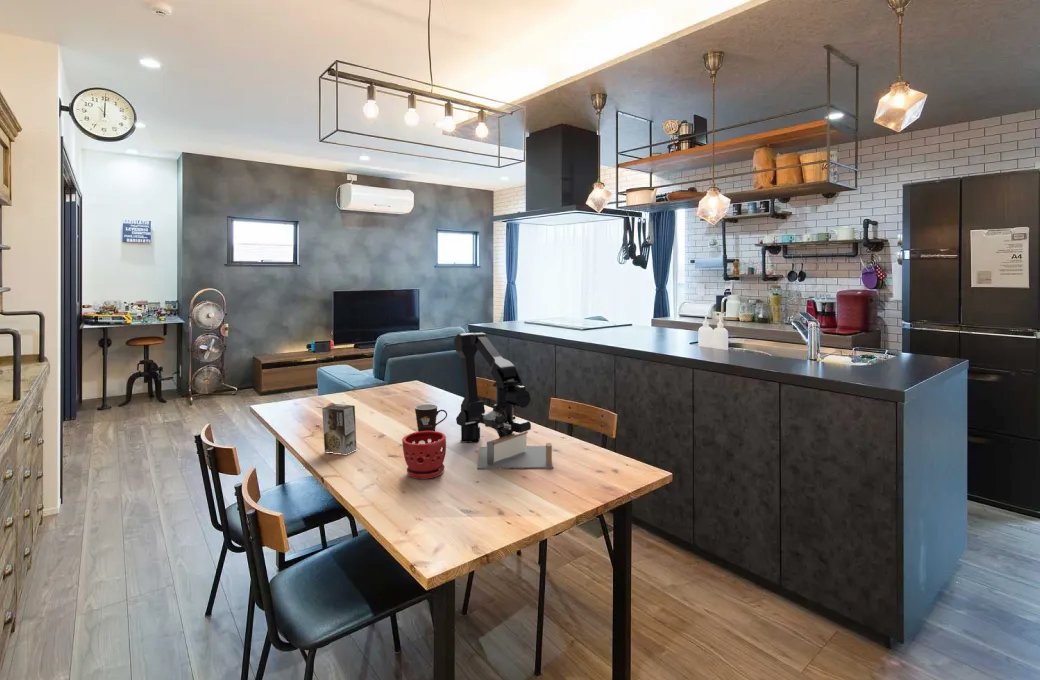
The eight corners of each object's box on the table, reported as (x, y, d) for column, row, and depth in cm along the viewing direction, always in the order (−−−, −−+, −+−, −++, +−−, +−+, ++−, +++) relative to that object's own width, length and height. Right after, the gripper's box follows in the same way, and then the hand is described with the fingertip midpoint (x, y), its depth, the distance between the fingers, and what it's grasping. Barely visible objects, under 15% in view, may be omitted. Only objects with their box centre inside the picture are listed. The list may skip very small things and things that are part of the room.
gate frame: (477, 469, 175) (477, 447, 174) (479, 448, 196) (479, 428, 195) (553, 468, 176) (553, 446, 175) (547, 447, 197) (547, 428, 196)
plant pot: (408, 466, 178) (407, 430, 176) (449, 466, 177) (448, 430, 176) (398, 481, 165) (397, 442, 163) (442, 482, 164) (441, 443, 163)
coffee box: (357, 450, 193) (355, 405, 191) (346, 456, 187) (344, 409, 185) (335, 447, 196) (333, 403, 194) (323, 453, 190) (321, 407, 188)
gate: (490, 464, 176) (490, 443, 175) (485, 463, 177) (485, 442, 176) (527, 450, 190) (527, 430, 189) (523, 449, 191) (523, 429, 190)
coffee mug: (411, 433, 213) (410, 408, 211) (423, 427, 221) (422, 403, 219) (437, 437, 208) (436, 411, 207) (448, 431, 216) (448, 406, 215)
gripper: (467, 401, 185) (467, 446, 187) (510, 410, 173) (509, 459, 175) (490, 395, 194) (490, 439, 196) (532, 404, 182) (531, 450, 184)
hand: (504, 446), depth 187 cm, fingers closed
